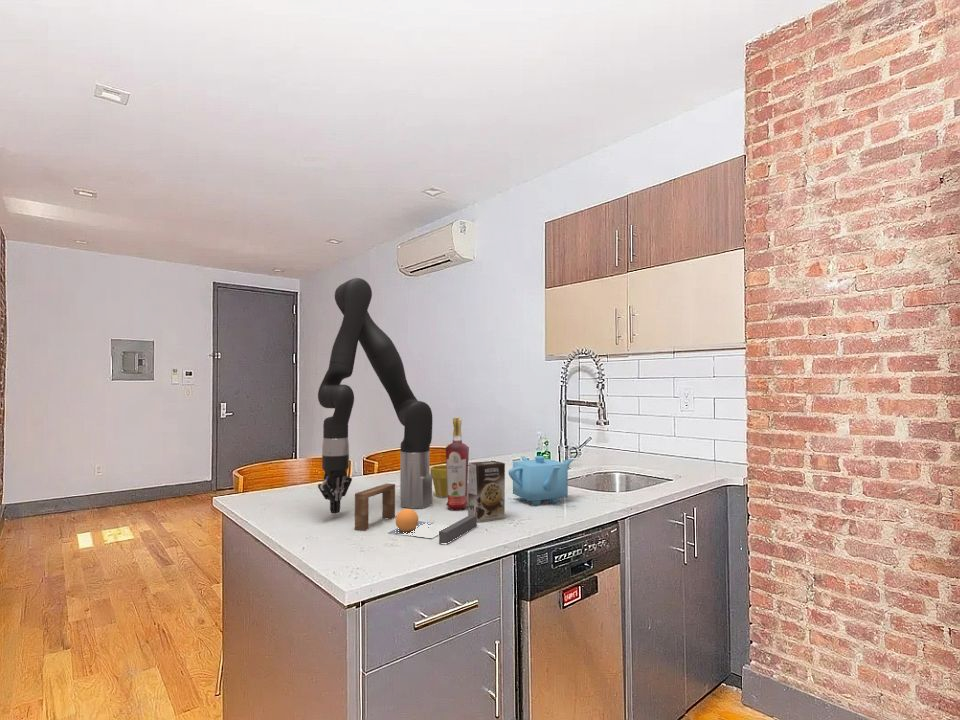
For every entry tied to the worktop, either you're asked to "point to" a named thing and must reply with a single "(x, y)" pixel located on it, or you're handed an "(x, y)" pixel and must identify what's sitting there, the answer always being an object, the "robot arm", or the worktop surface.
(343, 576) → the worktop surface
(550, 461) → the teakettle
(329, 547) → the worktop surface
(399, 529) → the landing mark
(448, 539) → the wall
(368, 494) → the bridge
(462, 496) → the liquor
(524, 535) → the worktop surface
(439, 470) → the plant pot
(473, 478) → the coffee box
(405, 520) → the ball
